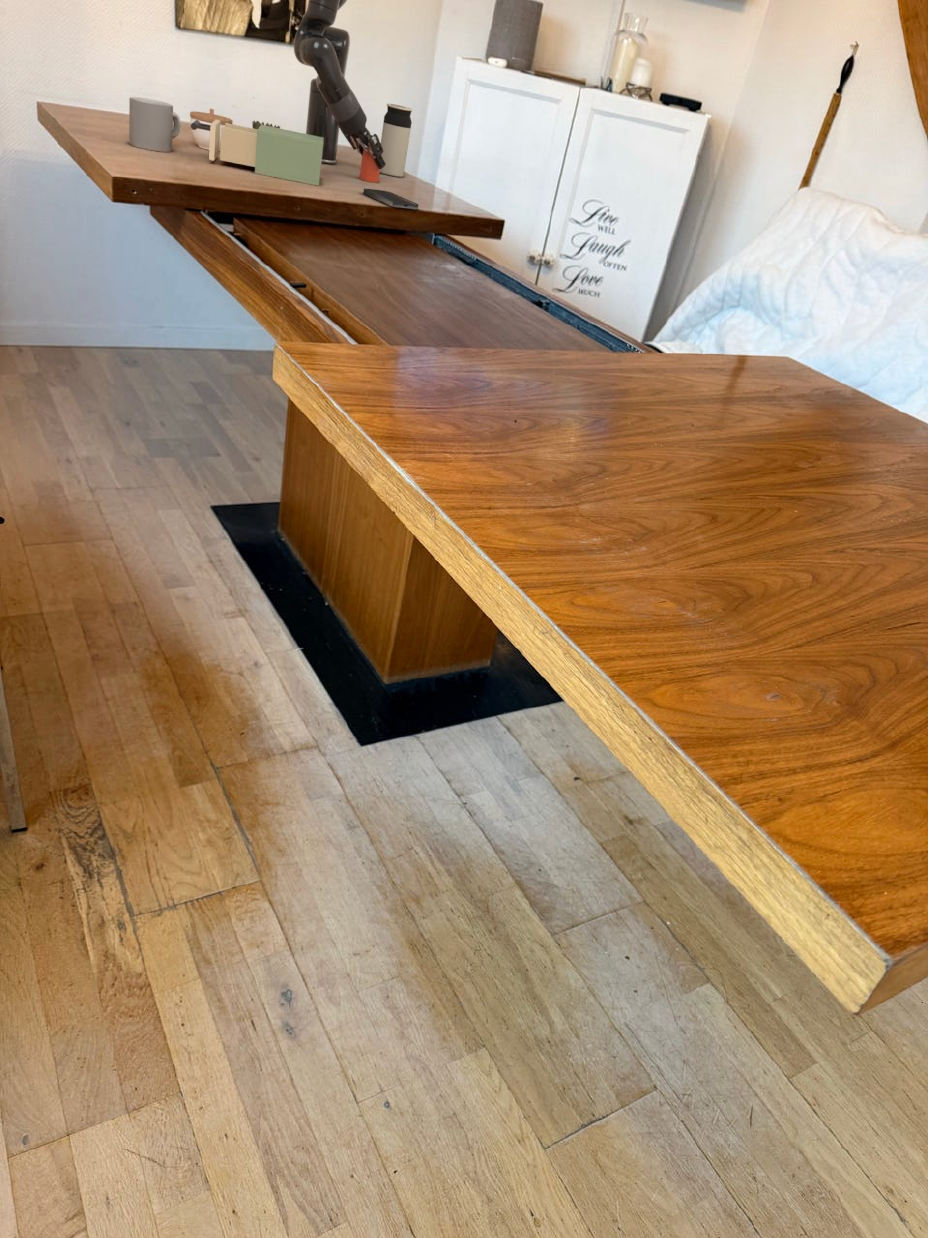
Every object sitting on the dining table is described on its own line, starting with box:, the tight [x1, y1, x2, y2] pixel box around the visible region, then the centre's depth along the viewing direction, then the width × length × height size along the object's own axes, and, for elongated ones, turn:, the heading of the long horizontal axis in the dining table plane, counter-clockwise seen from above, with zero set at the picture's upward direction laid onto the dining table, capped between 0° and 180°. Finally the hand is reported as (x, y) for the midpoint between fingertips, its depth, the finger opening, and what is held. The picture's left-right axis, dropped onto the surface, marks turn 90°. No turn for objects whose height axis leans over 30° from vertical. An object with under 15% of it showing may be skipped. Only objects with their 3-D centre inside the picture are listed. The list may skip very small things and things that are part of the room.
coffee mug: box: [128, 96, 181, 153], centre depth 224 cm, size 13×10×10 cm
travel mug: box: [379, 103, 413, 178], centre depth 267 cm, size 8×8×18 cm
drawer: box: [190, 120, 258, 168], centre depth 225 cm, size 19×11×8 cm, turn 97°
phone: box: [362, 188, 419, 211], centre depth 227 cm, size 8×1×15 cm
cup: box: [251, 120, 281, 129], centre depth 250 cm, size 8×7×8 cm
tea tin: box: [359, 144, 383, 184], centre depth 250 cm, size 5×5×9 cm
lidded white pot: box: [189, 108, 233, 152], centre depth 241 cm, size 11×11×9 cm
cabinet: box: [254, 124, 324, 187], centre depth 228 cm, size 16×13×10 cm
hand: (376, 164), depth 251 cm, fingers closed on tea tin, 5 cm apart
